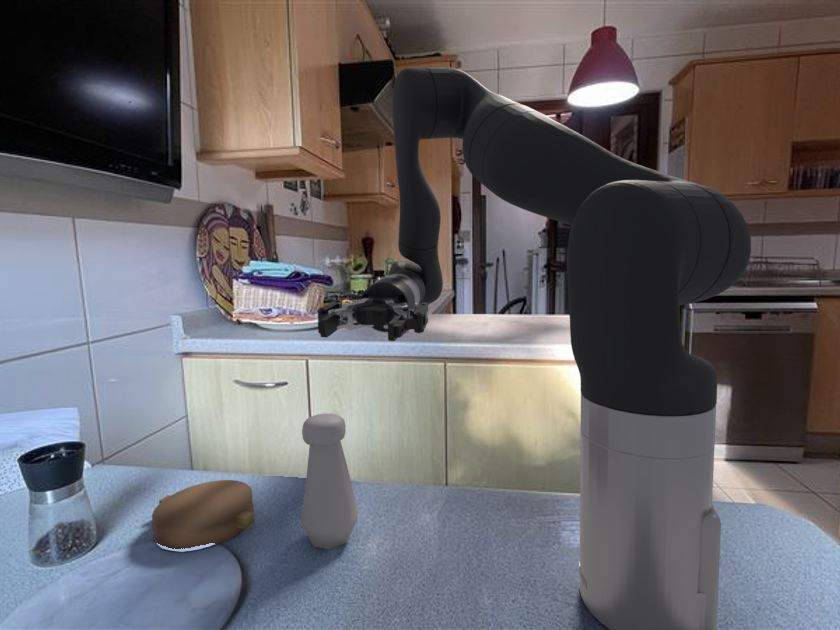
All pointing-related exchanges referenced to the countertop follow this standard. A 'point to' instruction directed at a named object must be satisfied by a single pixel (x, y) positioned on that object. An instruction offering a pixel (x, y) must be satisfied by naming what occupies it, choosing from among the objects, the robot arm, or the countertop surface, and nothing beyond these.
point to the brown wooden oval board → (203, 514)
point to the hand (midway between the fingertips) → (356, 331)
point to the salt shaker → (327, 484)
